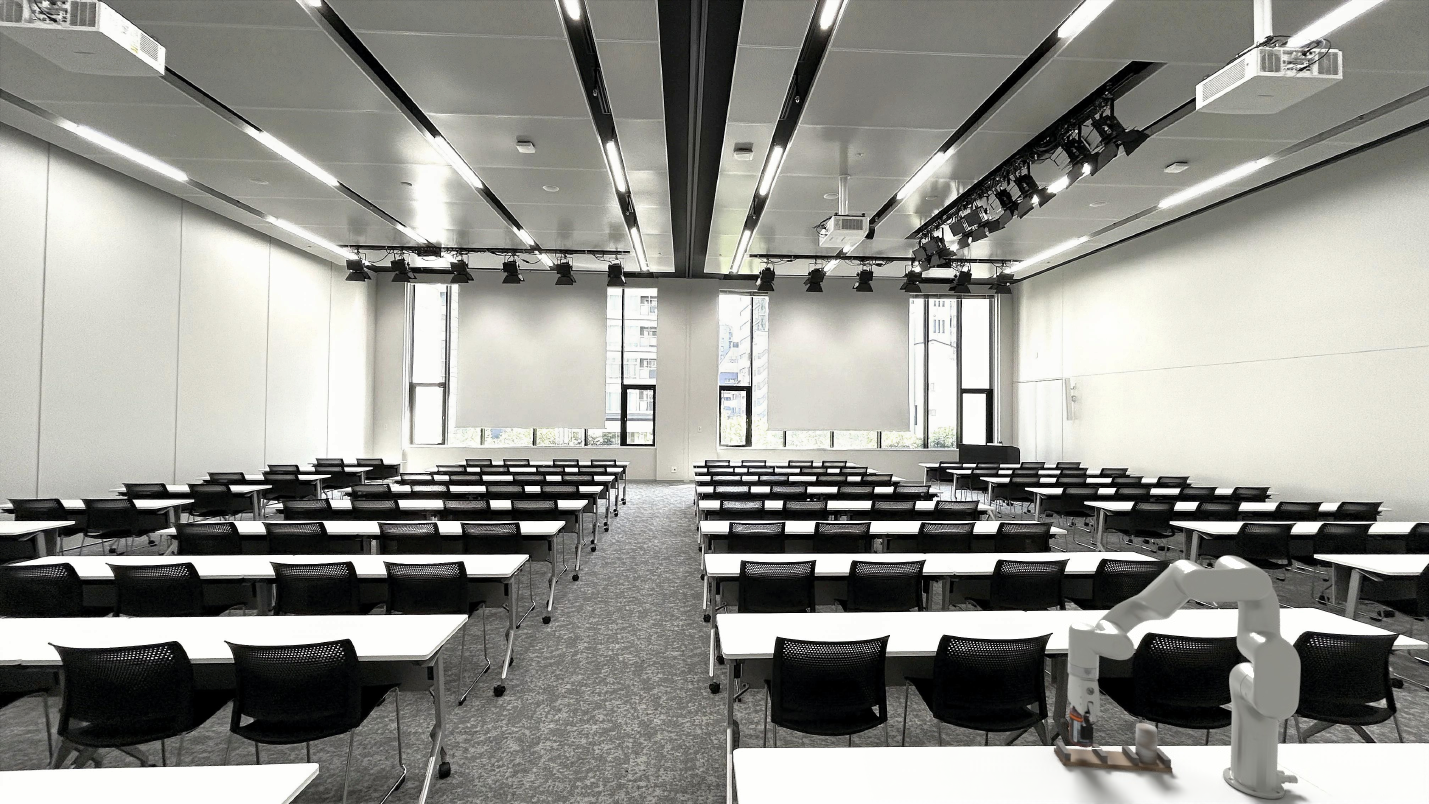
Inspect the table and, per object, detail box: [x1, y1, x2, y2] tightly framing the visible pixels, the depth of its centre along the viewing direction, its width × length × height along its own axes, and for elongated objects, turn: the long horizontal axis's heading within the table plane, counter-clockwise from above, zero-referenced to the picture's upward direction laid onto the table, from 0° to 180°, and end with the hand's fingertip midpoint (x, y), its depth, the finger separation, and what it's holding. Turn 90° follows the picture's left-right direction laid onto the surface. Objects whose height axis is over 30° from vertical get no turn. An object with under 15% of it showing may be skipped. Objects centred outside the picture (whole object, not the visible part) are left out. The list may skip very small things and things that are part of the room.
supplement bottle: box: [1068, 706, 1094, 749], centre depth 187 cm, size 6×6×11 cm
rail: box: [1053, 722, 1173, 773], centre depth 186 cm, size 28×7×10 cm, turn 84°
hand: (1081, 732), depth 187 cm, fingers closed on supplement bottle, 6 cm apart
